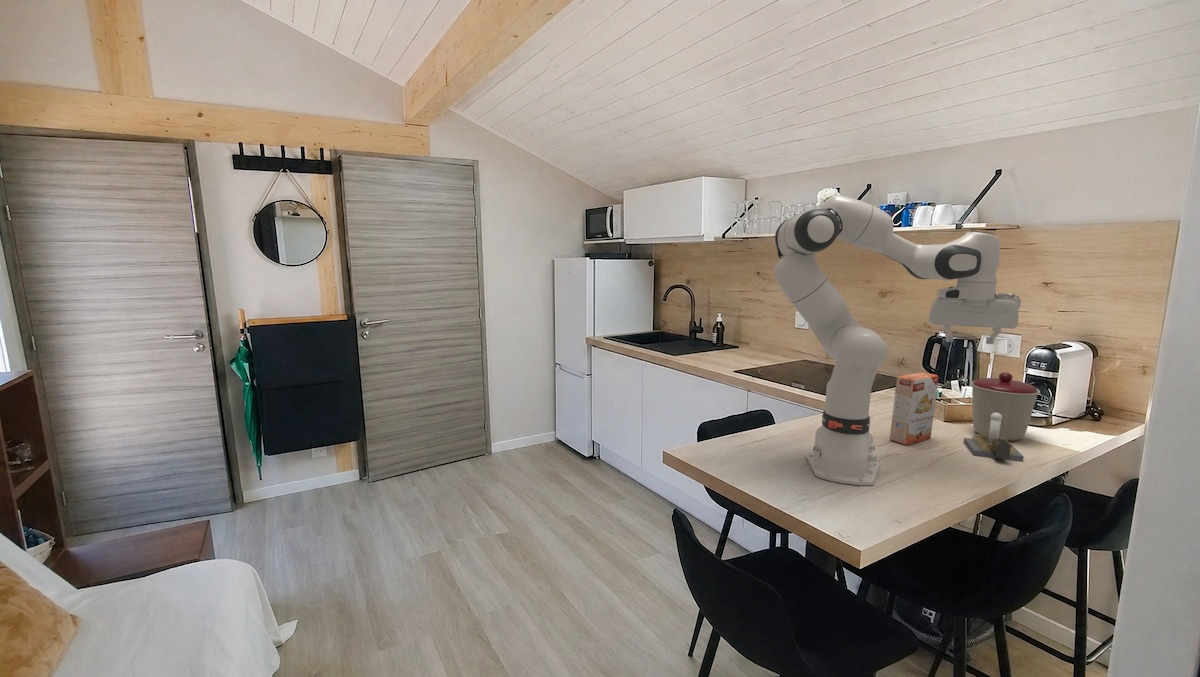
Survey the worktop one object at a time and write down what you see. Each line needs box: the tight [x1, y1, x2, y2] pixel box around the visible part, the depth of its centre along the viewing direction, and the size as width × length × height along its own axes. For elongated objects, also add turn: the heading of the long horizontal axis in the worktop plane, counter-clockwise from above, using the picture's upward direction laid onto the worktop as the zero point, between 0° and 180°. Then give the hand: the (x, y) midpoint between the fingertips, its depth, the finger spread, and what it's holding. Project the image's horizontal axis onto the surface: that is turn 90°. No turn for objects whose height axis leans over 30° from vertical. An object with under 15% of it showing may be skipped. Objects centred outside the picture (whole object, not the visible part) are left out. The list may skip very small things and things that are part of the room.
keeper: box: [963, 413, 1024, 462], centre depth 160 cm, size 12×12×12 cm
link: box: [971, 433, 1016, 460], centre depth 158 cm, size 15×8×4 cm, turn 158°
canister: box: [969, 372, 1041, 442], centre depth 174 cm, size 18×18×21 cm
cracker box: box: [889, 371, 940, 446], centre depth 169 cm, size 14×6×21 cm, turn 121°
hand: (969, 342), depth 148 cm, fingers open, 8 cm apart
